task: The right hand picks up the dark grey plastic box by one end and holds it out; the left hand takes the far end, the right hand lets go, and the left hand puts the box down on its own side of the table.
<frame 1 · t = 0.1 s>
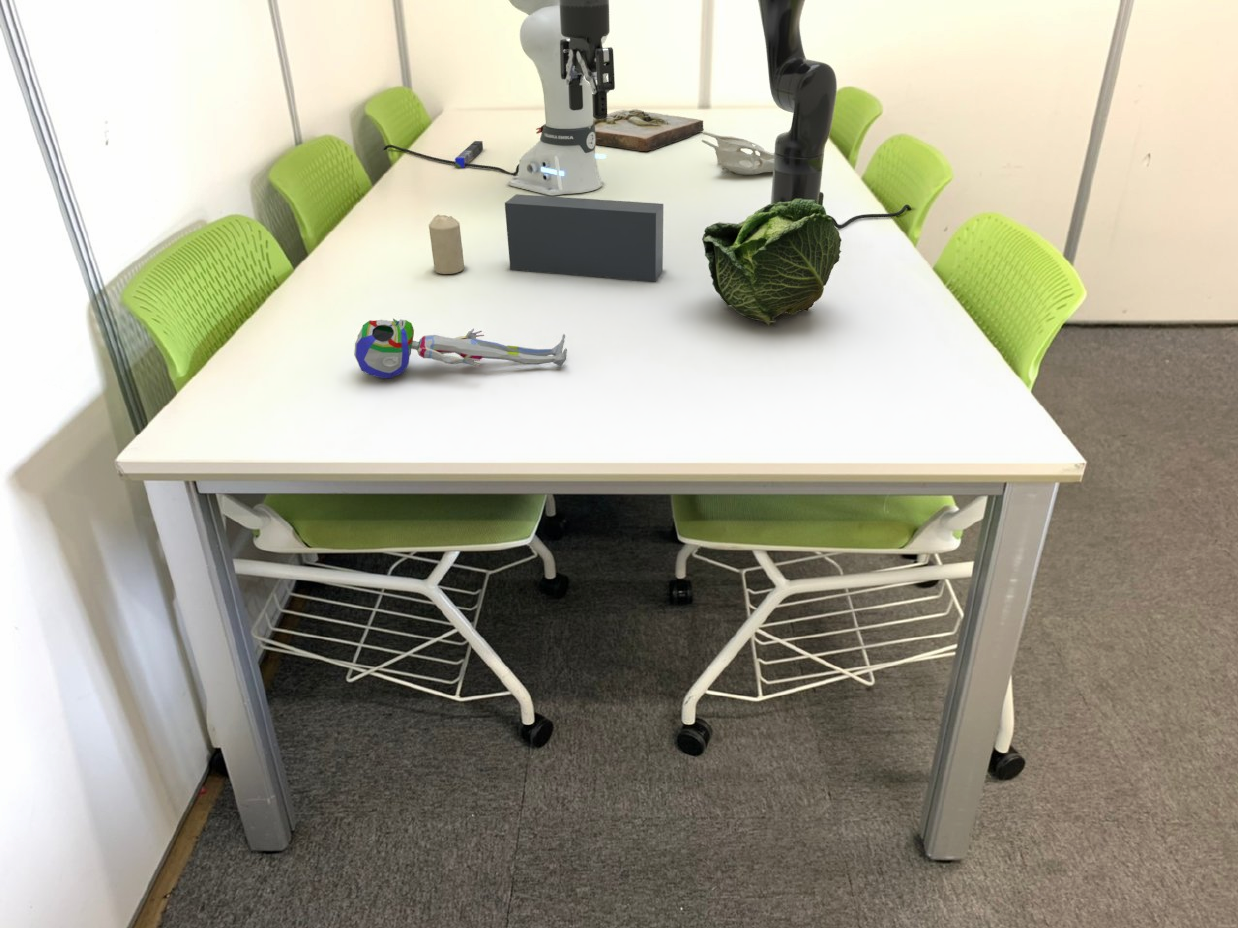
right hand: (587, 114, 144), 29 cm above the table, tool pointing down, fingers open, 8 cm apart
toy: (464, 369, 132), on the table
plaque: (633, 136, 259), on the table
box: (585, 270, 166), on the table
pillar: (469, 159, 239), on the table
candle: (449, 270, 167), on the table
vegetable: (768, 313, 148), on the table
anatomical model: (751, 172, 223), on the table
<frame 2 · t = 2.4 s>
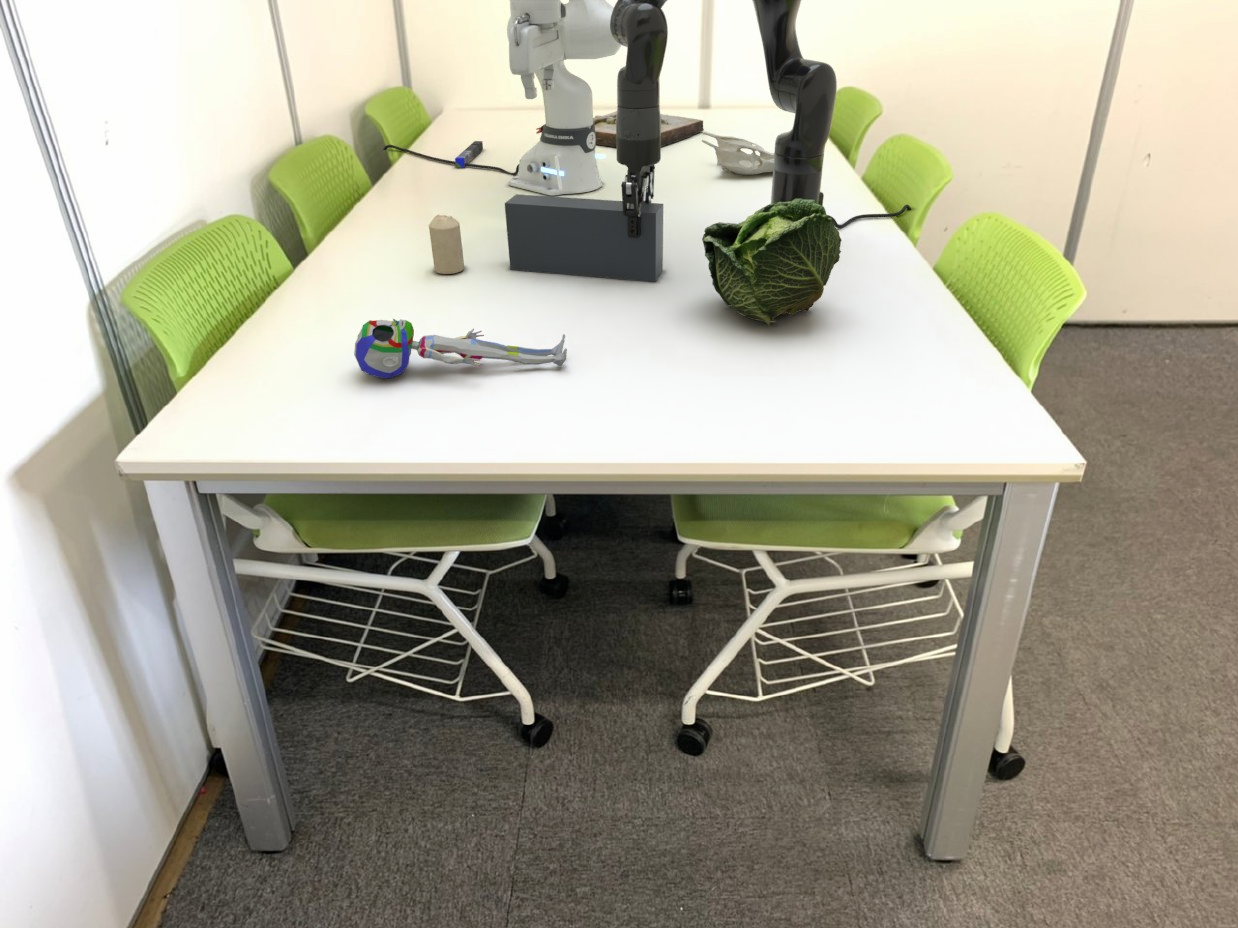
left hand: (539, 94, 167), 28 cm above the table, tool pointing down, fingers open, 8 cm apart
right hand: (638, 231, 159), 8 cm above the table, tool pointing down, fingers closed on box, 5 cm apart
box: (586, 270, 166), on the table, touching right hand
everything else where it was.
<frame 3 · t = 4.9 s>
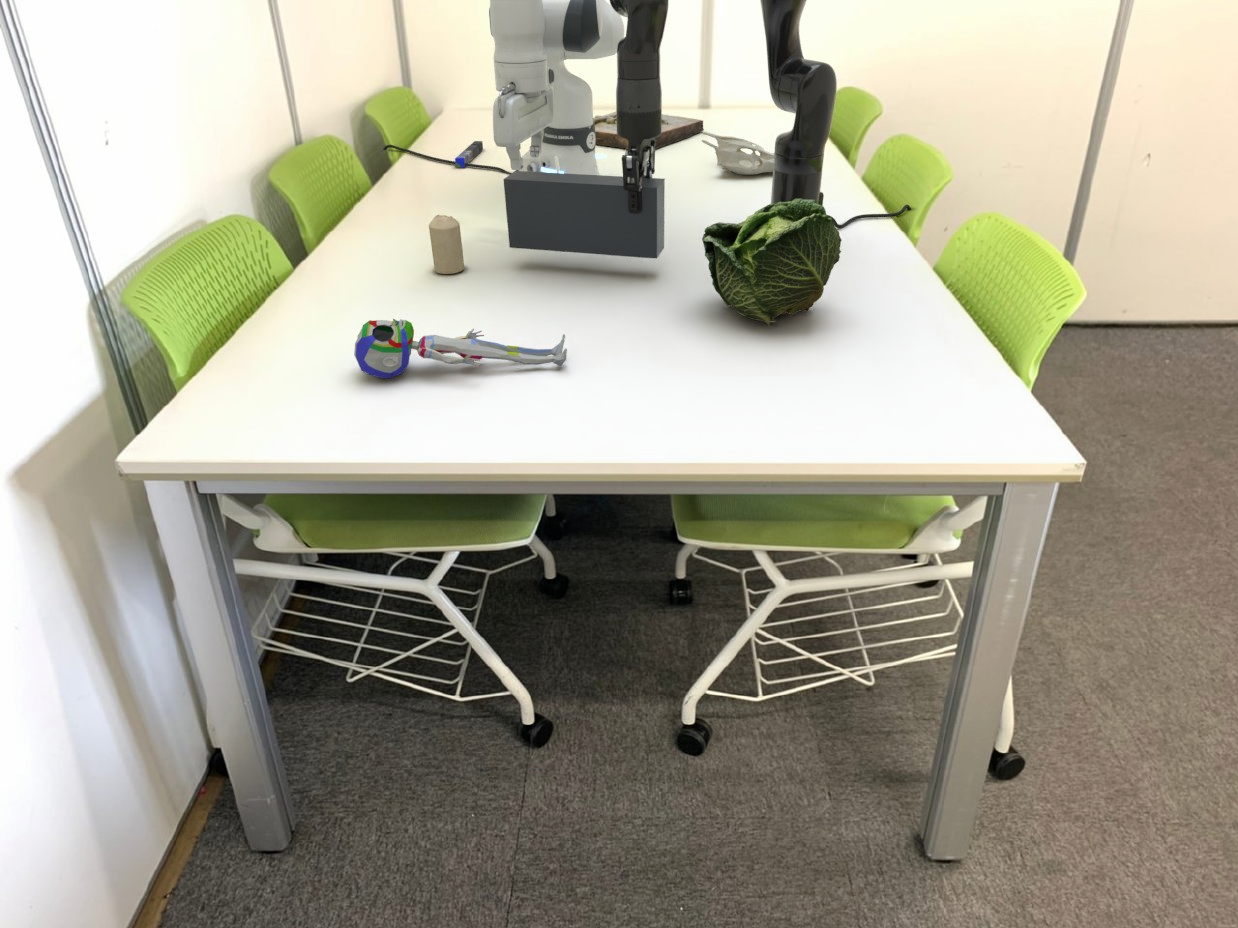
left hand: (526, 162, 158), 19 cm above the table, tool pointing down, fingers open, 8 cm apart
right hand: (639, 207, 157), 12 cm above the table, tool pointing down, fingers closed on box, 5 cm apart
box: (586, 248, 164), point 4 cm above the table, touching right hand
everything else where it was.
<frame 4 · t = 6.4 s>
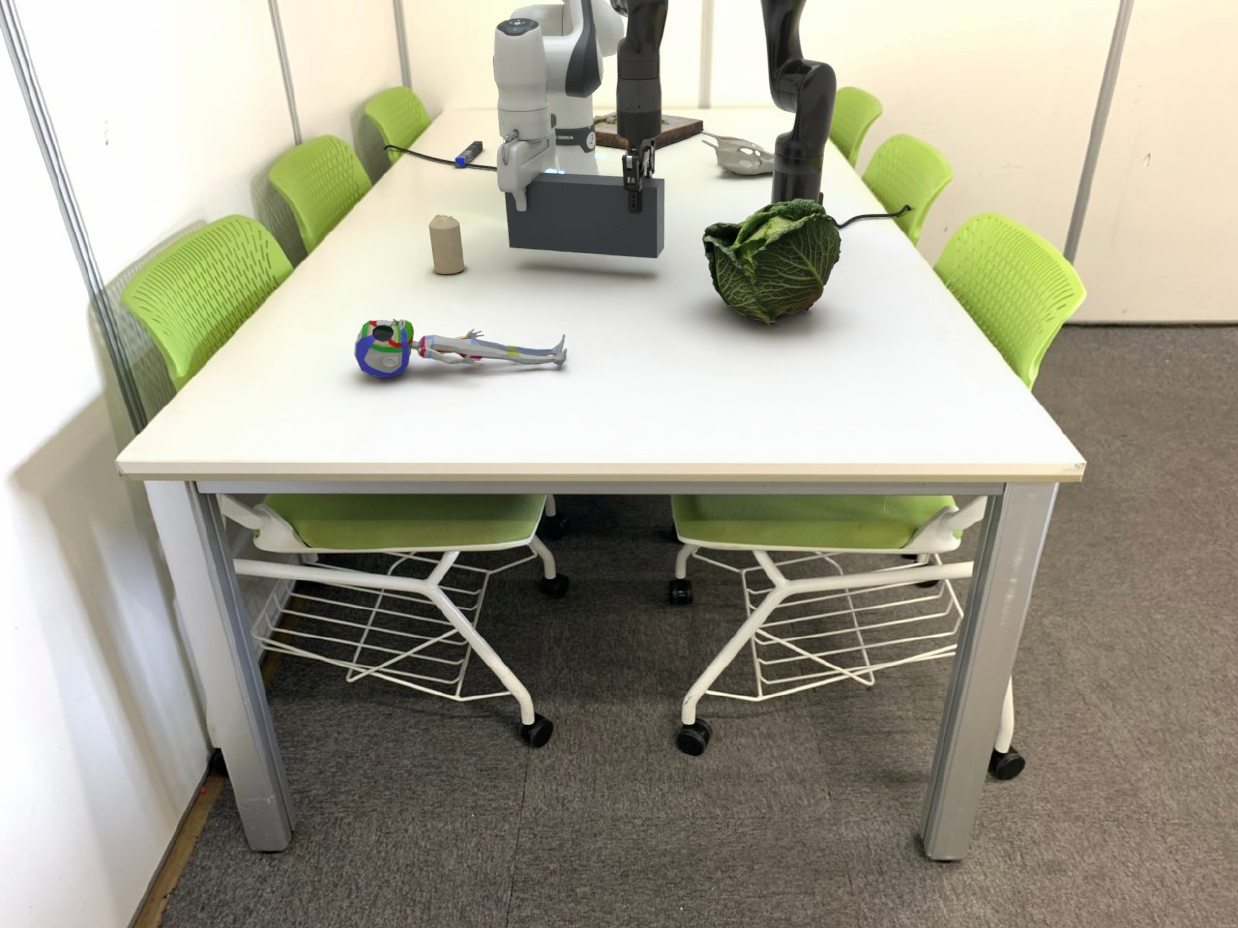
left hand: (529, 204, 162), 12 cm above the table, tool pointing down, fingers closed on box, 6 cm apart
right hand: (639, 207, 157), 12 cm above the table, tool pointing down, fingers closed on box, 5 cm apart
box: (586, 248, 164), point 4 cm above the table, touching left hand, right hand
everything else where it was.
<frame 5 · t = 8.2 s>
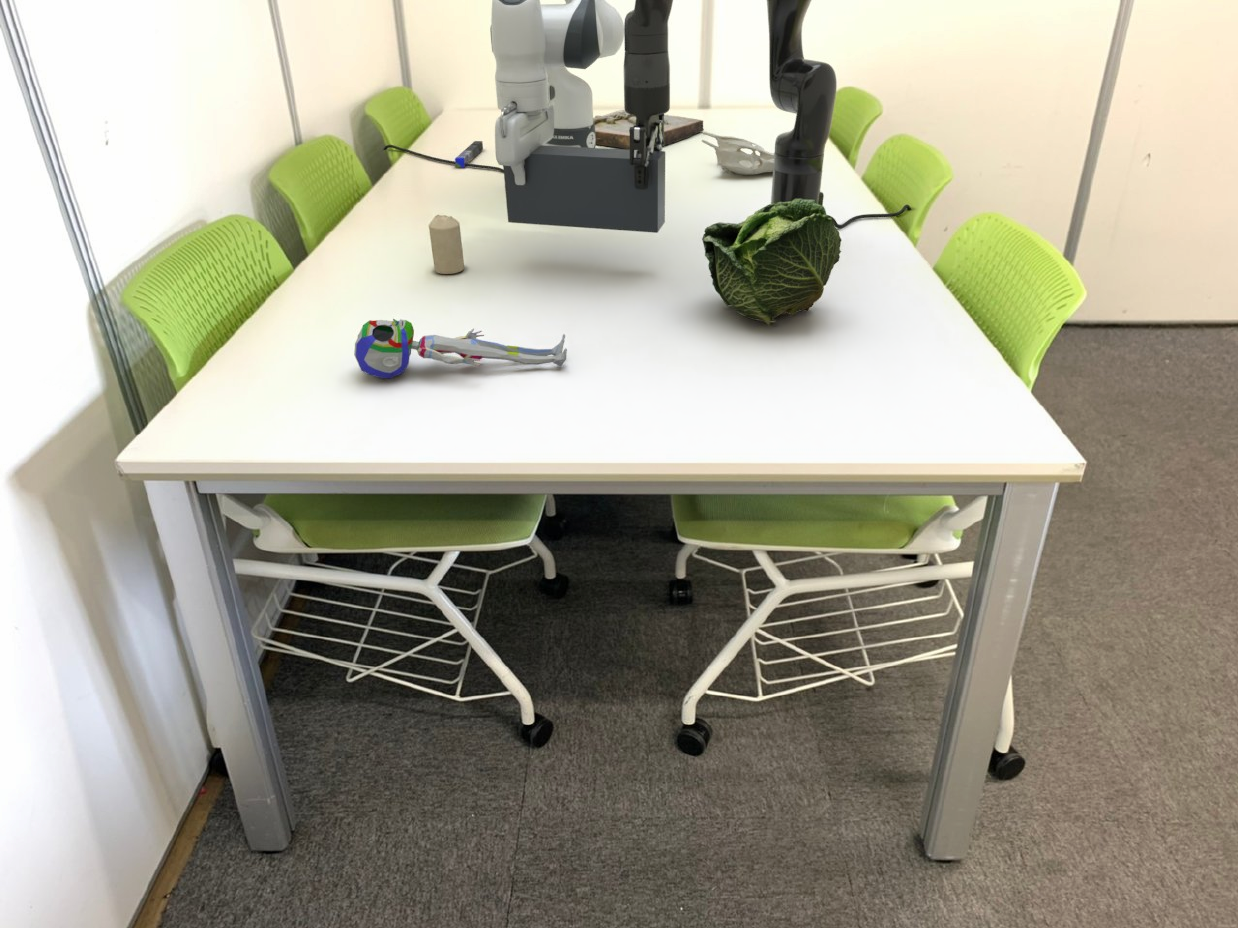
left hand: (528, 178, 160), 16 cm above the table, tool pointing down, fingers closed on box, 6 cm apart
right hand: (647, 182, 155), 17 cm above the table, tool pointing down, fingers open, 8 cm apart
box: (586, 222, 162), point 9 cm above the table, touching left hand
everything else where it was.
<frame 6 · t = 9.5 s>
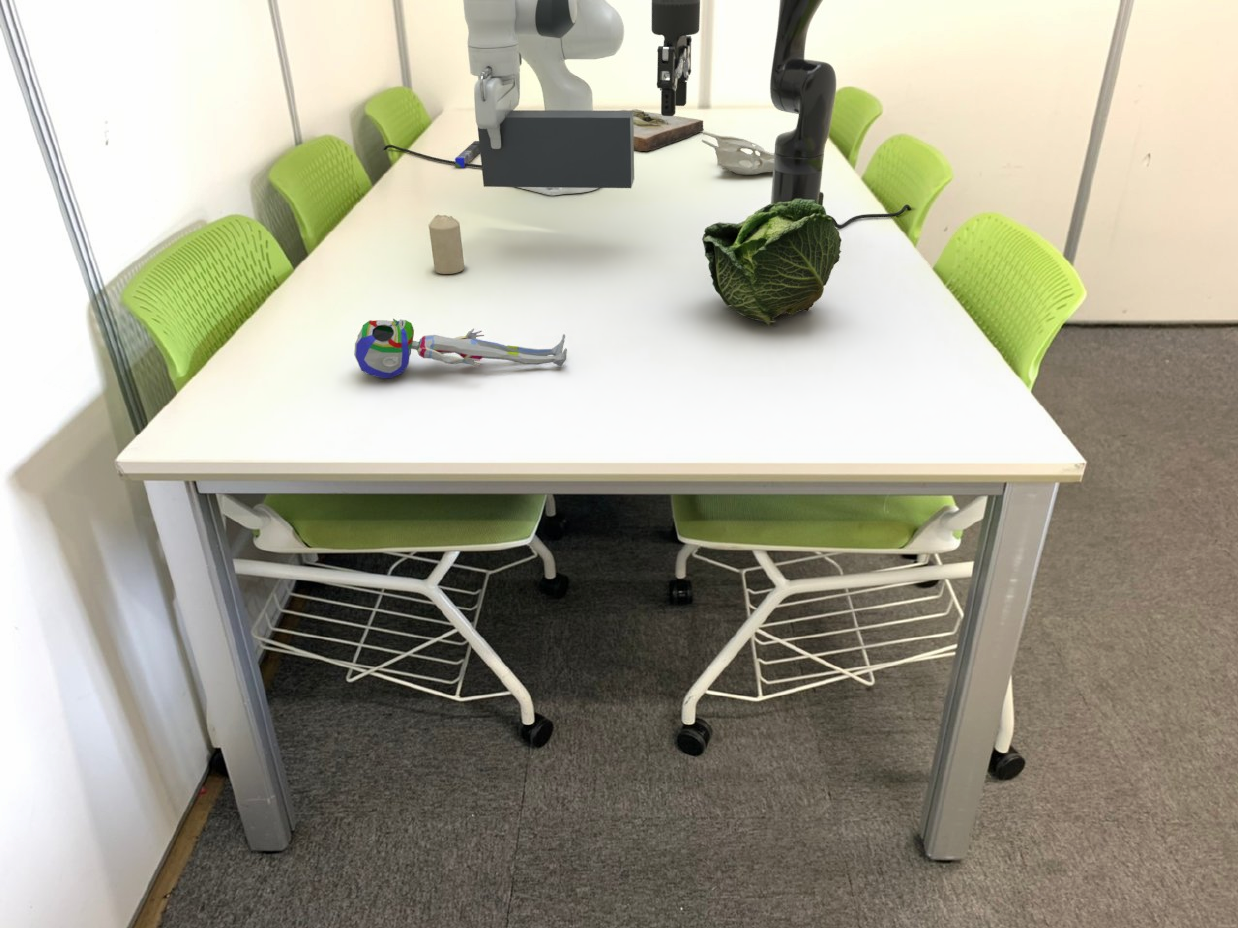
left hand: (501, 143, 166), 20 cm above the table, tool pointing down, fingers closed on box, 6 cm apart
right hand: (674, 110, 147), 29 cm above the table, tool pointing down, fingers open, 8 cm apart
box: (559, 183, 169), point 13 cm above the table, touching left hand
everything else where it was.
when the left hand's fingers open (9 cm above the table, at t = 12.7 s): box stays where it is, on the table.
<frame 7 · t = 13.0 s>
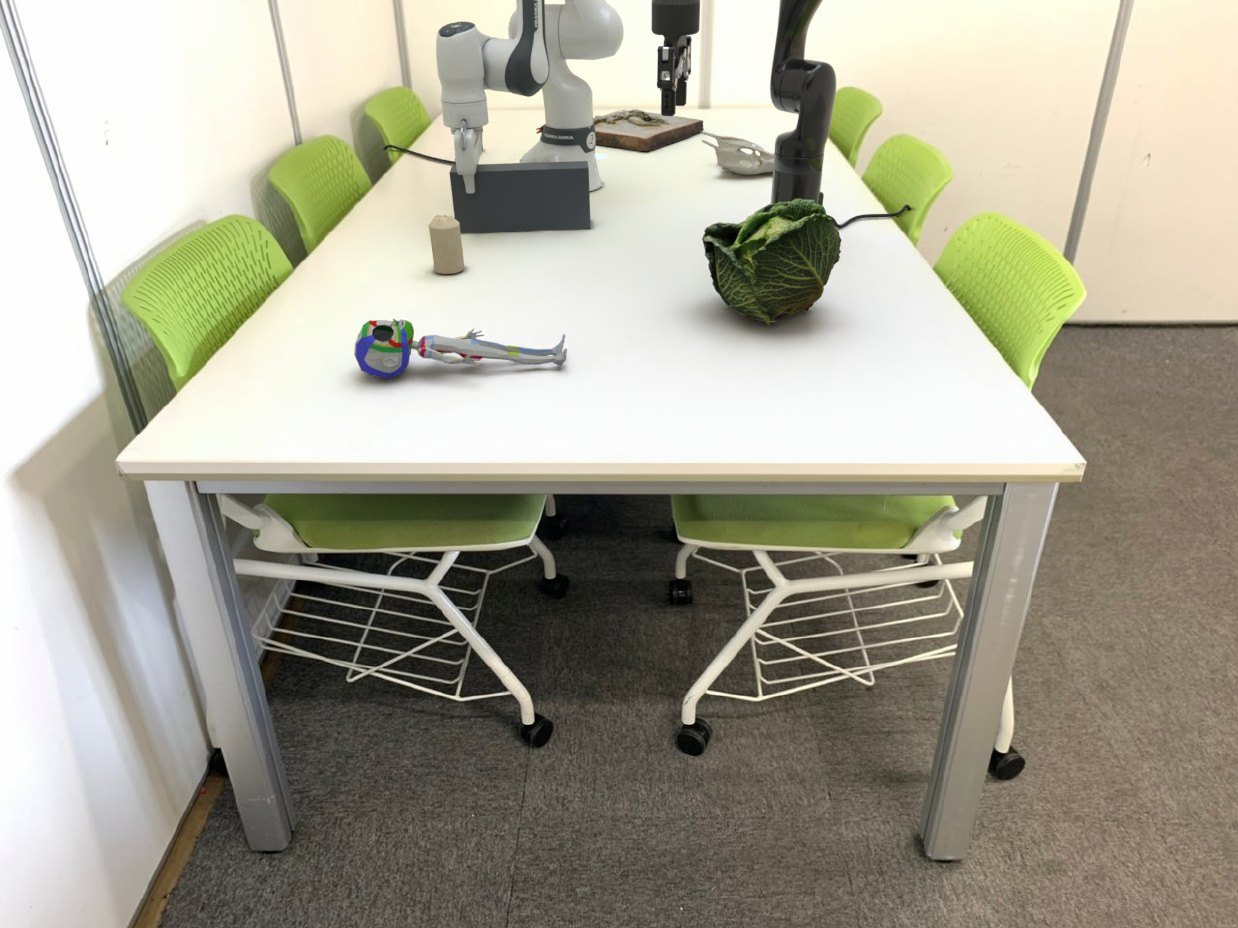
left hand: (472, 186, 183), 9 cm above the table, tool pointing down, fingers open, 8 cm apart
right hand: (674, 110, 147), 29 cm above the table, tool pointing down, fingers open, 8 cm apart
box: (524, 227, 189), on the table
everything else where it was.
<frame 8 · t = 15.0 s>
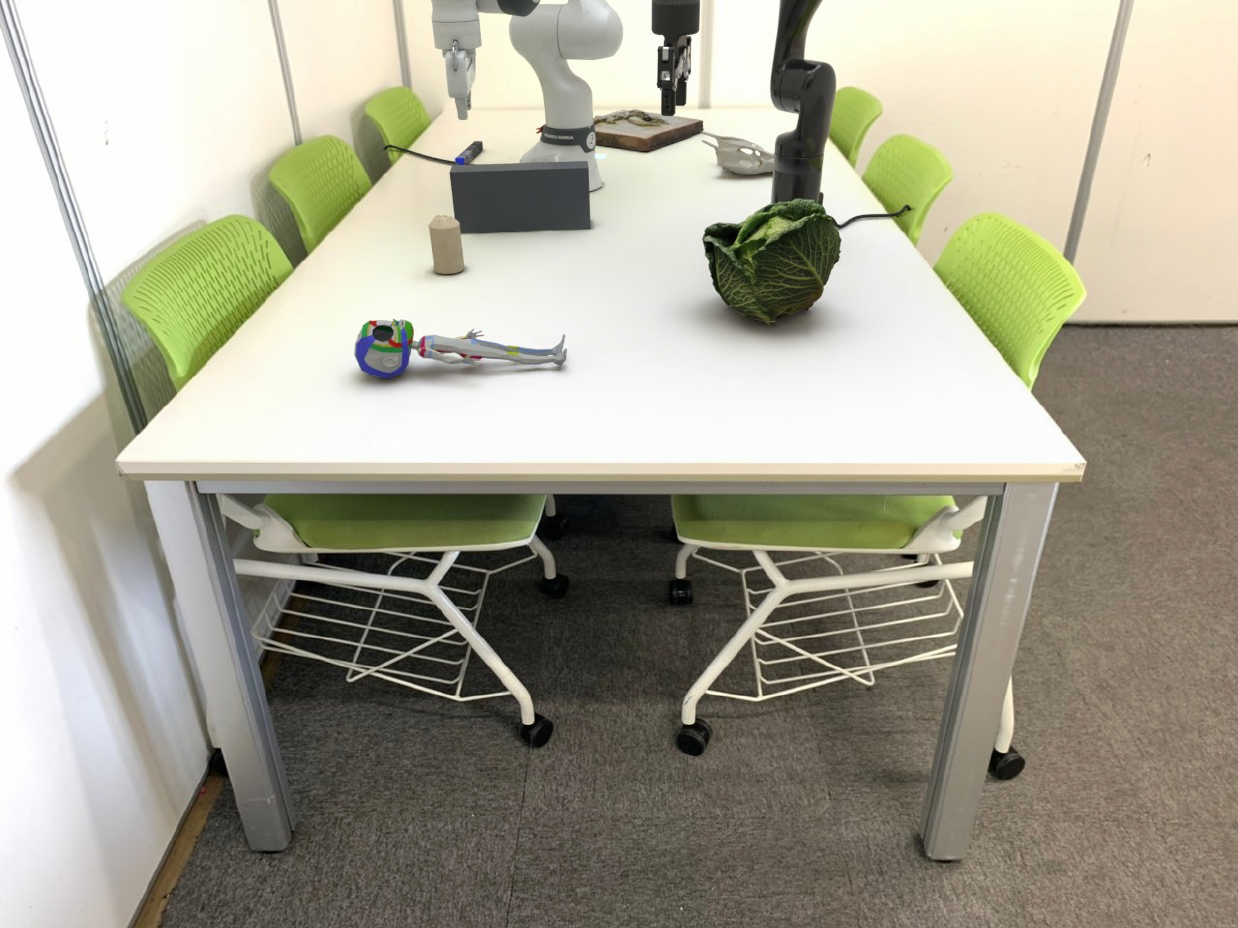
left hand: (465, 114, 176), 23 cm above the table, tool pointing down, fingers open, 8 cm apart
right hand: (674, 110, 147), 29 cm above the table, tool pointing down, fingers open, 8 cm apart
nothing on the table moved.
at the end: box inside the target area (10.0 cm from its centre), on the table; the left hand is holding nothing; the right hand is holding nothing; box at rest at the end (0.0 cm/s) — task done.
